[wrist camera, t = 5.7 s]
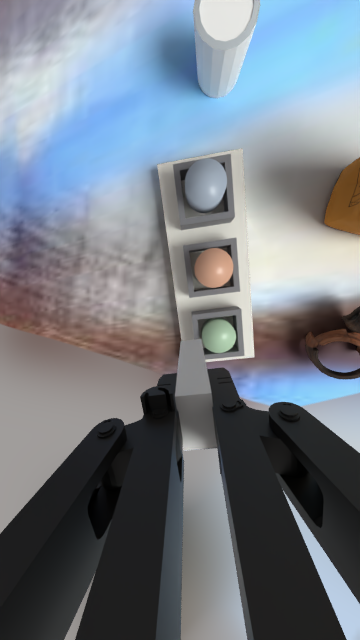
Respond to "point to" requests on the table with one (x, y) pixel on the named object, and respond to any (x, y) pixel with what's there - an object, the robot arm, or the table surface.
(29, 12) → the table surface
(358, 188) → the coffee package
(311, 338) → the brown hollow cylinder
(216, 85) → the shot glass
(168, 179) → the button panel
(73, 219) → the table surface
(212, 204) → the slate button
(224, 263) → the terracotta button
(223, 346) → the sage button
